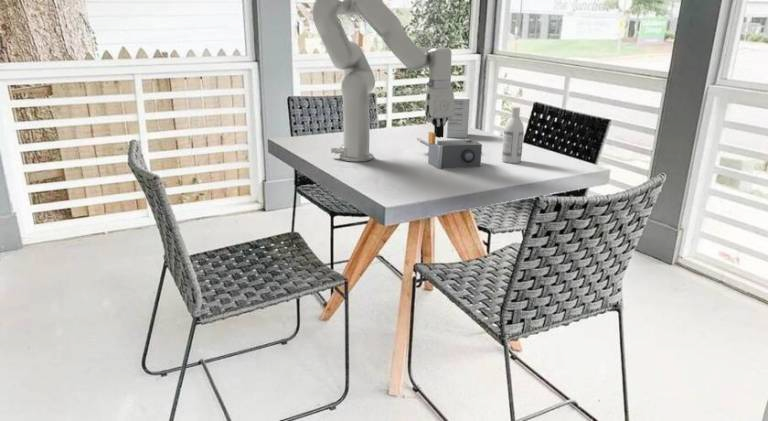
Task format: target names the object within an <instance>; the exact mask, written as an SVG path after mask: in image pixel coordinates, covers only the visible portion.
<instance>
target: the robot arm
mask: <svg viewBox="0 0 768 421" xmlns="http://www.w3.org/2000/svg"><path fill="white" fill-rule="evenodd" d="M338 15H339V16H340V15H341V16H342V15H344V16H345V15H348V16H349V15H350V16H351V15H352V16H360V17H361V18H362V19H363V20H364V21H365V22H366V23H367V24H368V25H369V26H370V27H371V28H372V29H373V30H374V31H375V32H376V34H377V35H378V36H379V37H380V38H381V39H382V41H383V42H384V44H385V45H386V46H387V47H388V48H389V50H390V52H392V54H394V56H395V57H396V58H397V59H398V61H400V63H402V64H403V65H404V67H406V68H407V69H408V70H410V71H413V72H417V71H420V70H422V69H427V68H429V70H428V71H429V72H428V82H427V83H426V86H427V87H428V89H427V92H426V95H425V96H426V97H425V107H424V114H425V116H426V118H425V121H426V122H429V123H431V124H432V126H434V128H433V129H434V130H433V133H436V134H435V138H439V139H440V138H444V133H445V132H444V131H445V130H444V129H445V128H444V127H445V126H446V122H447V120H450V119H452V116H453V115H454V111H455V106H454V96H455V94H454V90H453V88H452V84H451V83H452V50H451V48H449V47H427V46H418V45H417V44H416V43H415V42H414V41H413V40H412V39H411V38H410V37H409V35H408V34H407V33H406V31H405V30H404V27H403V26H402V25H403V24H402V23H401V21H400V19H399V18H398V16H396V14H395V13H394V12H393V11H392V10H391V9H390V8H389V7H388V6H387V5H386V4H385V3H384V0H315V1H314V4H313V6H312V19H313V22H314V26H315V28H316V30H317V32H318V34H319V36H320V38H321V40H322V44H323V45H324V48H325V49H326V51H327V54H328V56H329V58H330V60H331V63H332V65H333V66H334V67H335V68H337V69H338V70H341V71H344V73H345V74H346V75H345V76H344V77H343V79H342V81H341V86H340V87H341V89H340V90H341V97H342V111H343V112H342V117H343V118H342V119H343V144H341V146H339V147H331V148H330V153H332V154H335V155H336V154H339V155H338V156H339V159H341V160H342V161H347V162H355V163H359V162H360V163H361V162H369V161H371V160H373V159H374V154H373V153H372V152H370V101H369V100H370V99H369V94H370V93H371V92H372V91H373V90H374V89H375V85H376V79H375V75H374V73H373V70H372V68H371V66H370V64H369V61H368V59H367V58H366V55H365V53H364V51H363V49H362V47H361V46H359V44H358V43H356V42H354V41H352V40H351V41H350V40H349V38H348V35H347V33H346V31H345V28H344V27H343V24H342V23H341V22H340V20H339V18H338Z"/></svg>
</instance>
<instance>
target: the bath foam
mask: <svg viewBox="0 0 768 421" xmlns="http://www.w3.org/2000/svg"><path fill="white" fill-rule="evenodd" d="M510 113H511V114H510V118H509V119H508V120H507V121H506V123H505V125H504V129H503V130H504V131H503V139H502V140H503V141H502V154H501V156H502V157H501V160H502V162H503V163H506V164H519V163H521V162H522V154H523V144H524V142H523V141H524V125H523V122H522V120H521V118H520V113H521V107H520V106H512V107H511V112H510Z"/></svg>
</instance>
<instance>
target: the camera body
mask: <svg viewBox="0 0 768 421" xmlns="http://www.w3.org/2000/svg"><path fill="white" fill-rule="evenodd" d="M436 144H437V145H439V146H443V149H442V169H451V168H452V169H453V168H456V169H457V168H480V167H481V164H482V153H481V151H483V150H482V148H483V144H482V143H480V142H479V141H477V140H476V139H471V138H464V139H456V140H455V139H454V140H453V139H452V140H448V139H447V140H437V142H436Z"/></svg>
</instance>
